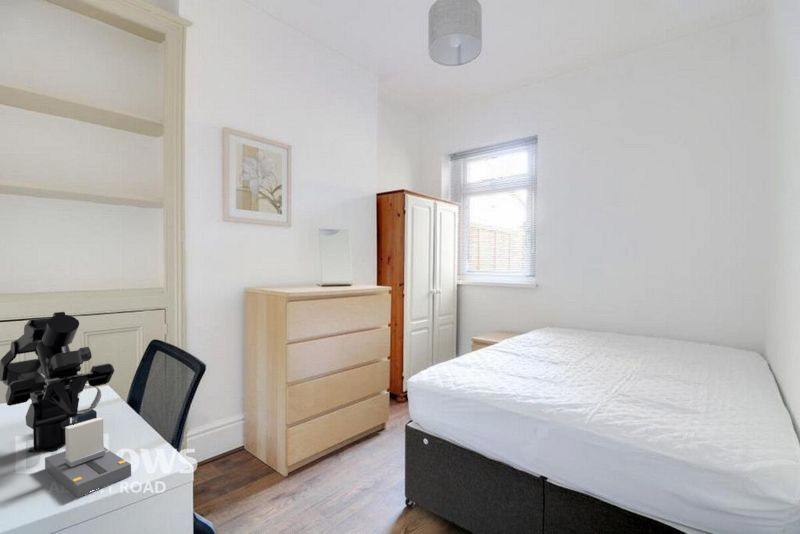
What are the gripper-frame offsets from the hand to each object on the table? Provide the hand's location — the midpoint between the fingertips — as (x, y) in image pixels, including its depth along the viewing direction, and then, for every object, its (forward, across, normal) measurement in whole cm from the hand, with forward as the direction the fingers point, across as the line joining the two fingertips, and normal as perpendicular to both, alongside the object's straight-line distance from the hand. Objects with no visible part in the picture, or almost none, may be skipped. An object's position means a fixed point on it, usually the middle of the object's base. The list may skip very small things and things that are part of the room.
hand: (73, 412), depth 86 cm
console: (+14, 0, +2) cm, 14 cm away
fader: (+11, 0, +1) cm, 11 cm away
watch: (-10, +9, +26) cm, 30 cm away
